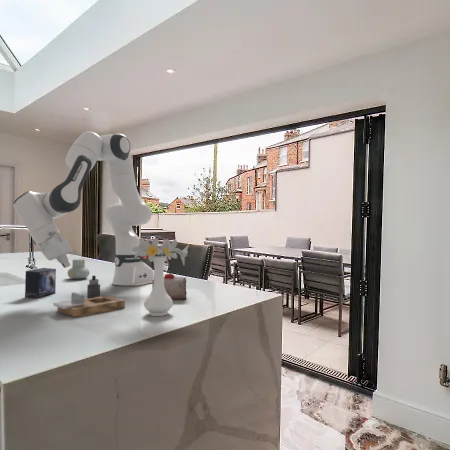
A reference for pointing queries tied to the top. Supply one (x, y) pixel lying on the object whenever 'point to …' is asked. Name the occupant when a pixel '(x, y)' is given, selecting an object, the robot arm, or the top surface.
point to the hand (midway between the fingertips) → (67, 266)
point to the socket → (94, 306)
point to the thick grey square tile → (71, 301)
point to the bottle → (93, 288)
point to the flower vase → (159, 272)
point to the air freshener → (78, 269)
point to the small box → (40, 282)
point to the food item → (174, 286)
